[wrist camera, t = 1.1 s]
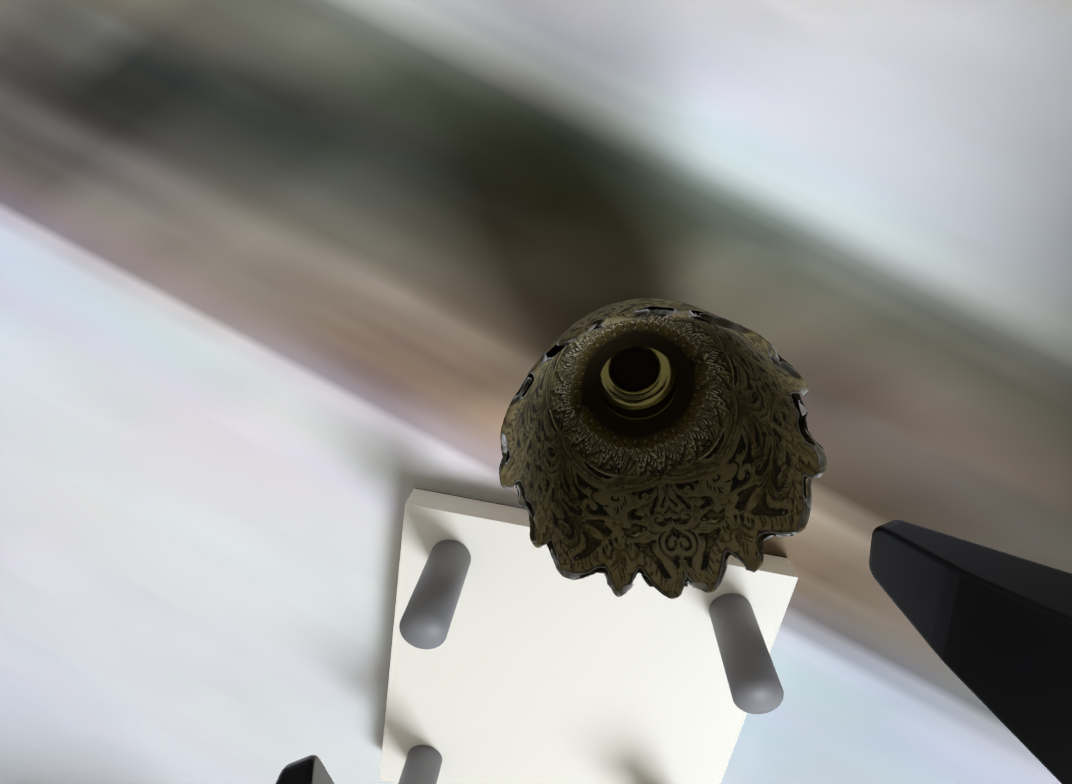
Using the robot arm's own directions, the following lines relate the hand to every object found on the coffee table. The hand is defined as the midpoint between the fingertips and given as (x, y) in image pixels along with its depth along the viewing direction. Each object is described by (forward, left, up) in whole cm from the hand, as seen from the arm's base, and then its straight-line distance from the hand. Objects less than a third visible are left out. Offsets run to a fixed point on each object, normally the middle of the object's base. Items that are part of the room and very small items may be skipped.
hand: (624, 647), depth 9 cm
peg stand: (-1, +14, -13) cm, 19 cm away
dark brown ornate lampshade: (-1, 0, -13) cm, 13 cm away
